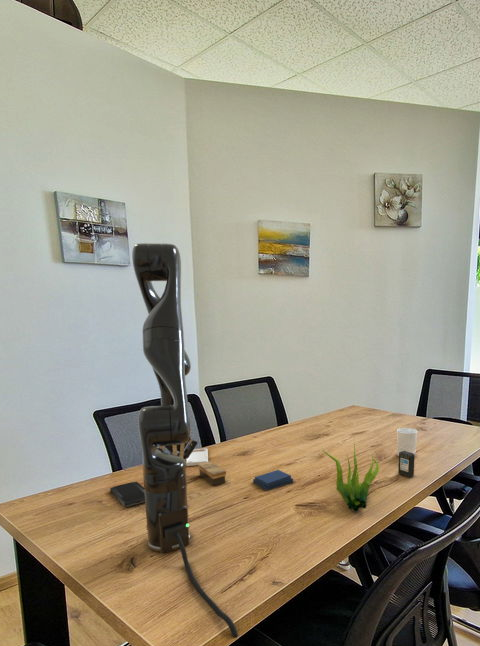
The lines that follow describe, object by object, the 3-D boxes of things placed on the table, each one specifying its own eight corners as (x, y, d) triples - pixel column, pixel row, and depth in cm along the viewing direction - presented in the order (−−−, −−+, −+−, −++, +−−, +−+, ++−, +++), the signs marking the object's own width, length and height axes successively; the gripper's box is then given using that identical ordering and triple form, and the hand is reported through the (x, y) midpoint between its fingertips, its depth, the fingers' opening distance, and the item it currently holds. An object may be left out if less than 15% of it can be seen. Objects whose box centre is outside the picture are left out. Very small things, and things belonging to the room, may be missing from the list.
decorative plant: (385, 476, 145) (387, 434, 142) (365, 516, 117) (366, 464, 114) (334, 470, 150) (335, 429, 147) (303, 507, 122) (303, 457, 119)
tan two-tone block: (226, 483, 138) (226, 471, 137) (213, 486, 135) (212, 474, 135) (210, 472, 147) (210, 461, 146) (198, 475, 144) (197, 463, 144)
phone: (136, 481, 136) (153, 496, 125) (136, 484, 136) (153, 499, 125) (108, 487, 131) (124, 504, 120) (109, 491, 131) (124, 508, 120)
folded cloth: (293, 482, 139) (293, 475, 139) (266, 490, 133) (265, 483, 132) (279, 475, 145) (279, 468, 145) (253, 482, 139) (252, 475, 138)
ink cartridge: (397, 474, 147) (398, 451, 145) (402, 472, 148) (402, 450, 147) (409, 478, 143) (410, 455, 142) (413, 476, 145) (414, 453, 144)
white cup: (419, 454, 166) (420, 429, 165) (411, 460, 160) (412, 434, 158) (400, 451, 171) (401, 426, 169) (392, 456, 164) (393, 431, 162)
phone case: (207, 464, 154) (207, 451, 168) (207, 460, 154) (207, 448, 168) (186, 466, 152) (187, 453, 166) (185, 462, 152) (187, 449, 166)
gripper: (156, 424, 123) (160, 482, 126) (200, 417, 132) (203, 471, 135) (148, 419, 129) (151, 474, 132) (191, 413, 137) (194, 464, 141)
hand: (178, 472), depth 134 cm, fingers closed
